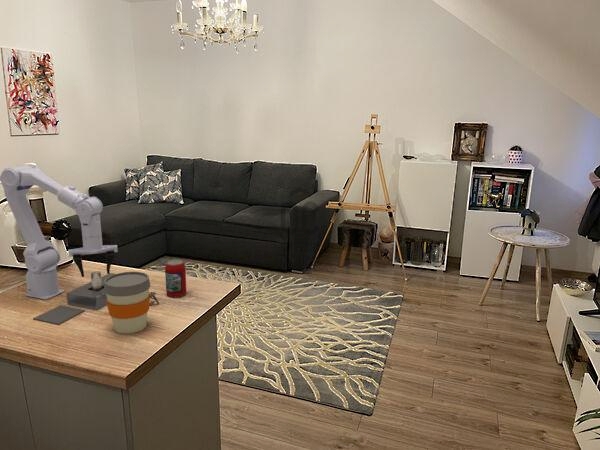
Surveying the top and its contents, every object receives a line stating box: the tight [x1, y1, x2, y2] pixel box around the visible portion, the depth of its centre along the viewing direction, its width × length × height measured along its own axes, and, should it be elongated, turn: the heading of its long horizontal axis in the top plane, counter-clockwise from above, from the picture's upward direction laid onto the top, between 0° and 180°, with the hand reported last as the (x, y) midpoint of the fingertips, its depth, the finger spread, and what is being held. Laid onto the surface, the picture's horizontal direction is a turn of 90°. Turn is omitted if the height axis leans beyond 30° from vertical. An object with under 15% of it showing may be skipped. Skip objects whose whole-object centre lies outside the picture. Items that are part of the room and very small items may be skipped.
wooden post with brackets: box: [149, 291, 160, 307], centre depth 146 cm, size 2×8×4 cm, turn 113°
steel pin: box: [90, 271, 102, 291], centre depth 149 cm, size 3×3×10 cm
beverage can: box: [164, 258, 187, 298], centre depth 154 cm, size 7×7×12 cm
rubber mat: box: [32, 304, 86, 326], centre depth 138 cm, size 10×10×1 cm
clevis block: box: [65, 272, 115, 311], centre depth 152 cm, size 12×20×4 cm, turn 161°
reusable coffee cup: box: [104, 271, 151, 335], centre depth 130 cm, size 13×12×15 cm
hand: (95, 274), depth 148 cm, fingers open, 7 cm apart
